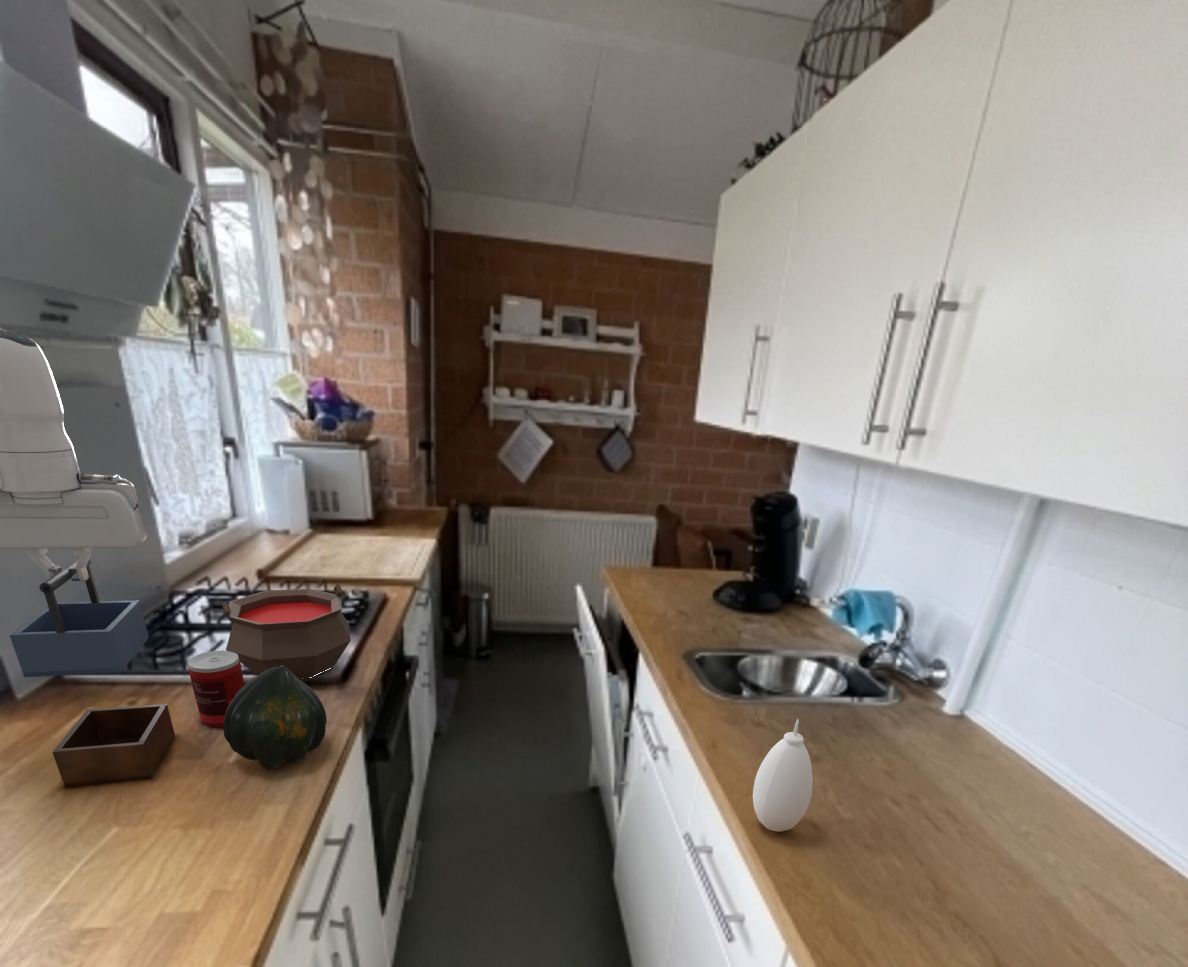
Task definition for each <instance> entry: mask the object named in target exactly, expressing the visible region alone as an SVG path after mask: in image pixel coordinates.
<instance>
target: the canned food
mask: <svg viewBox="0 0 1188 967" xmlns="http://www.w3.org/2000/svg"><path fill="white" fill-rule="evenodd" d="M187 669H188V674H189V678H190V682H191V686H192V690H193V694H194V699H195V703H196V706H197V712H198V715H199V719H200V721H201V722H202V723H203V724H204V725H205V726H207V727H211V728H212V727H213V728H224V718H225V714H226V710H227V708H228V706H229V704H230V703H231V701H232V700H233V698H234V697H235V695H236V694H237V692H238V691H239V690H240V689H241V688H242V687H243V686H245V685H246V684H245V680H244V675H243V670H242V663H241V662H240V660H239V657H238V655H237V654H236V653H234V652H230V651H226V650H211V651H206V652H201V653H199V654H197V655H196V654H195V655H194V656H192V657H191V658H189V660H188V661H187Z"/></svg>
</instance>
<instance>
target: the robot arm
mask: <svg viewBox="0 0 1188 967" xmlns="http://www.w3.org/2000/svg"><path fill="white" fill-rule="evenodd" d="M62 403H63V402H62V399H61V396H60V392H59V389H58V387H57V383H56V380H55V377H54V374H53V371H52V369H51V367H50V364H49V361H48V360H47V357H46V356H45V353H44V351H43V350H42V349H41V347H40V346H39V344H38V343H37V342H36V341H35V340H33V339H32V338H31V337H29V336H27V335H26V334H23V333H21V332H18V331H15V330H11V329H9V328H4V327H0V549H5V550H6V549H8V550H9V549H10V550H11V549H15V550H16V549H26V552H27V556H28V558H29V559H30V560H32V561H33V562H34V563H35V565H37V566H38V567H39V568H40V569H41V570H43V573H44V576H45V579H46V580H48V579H49V578H51V577H52V576H54V575H55V574H56V573H58V572H59V571H61V570H62V569H64V568H63V566H62V565H55V564H54V563H53V562H52V561H51V560H50V558H49V557H48V556H46V554H47V553H48V552H49V551H48V549H71V550H72V553H73V556H74V557H78V558H77V559H78V562H77V565H73V566H72V567H71V568H69V569H68V570H69V574H70V575H71V579H70V580H71V581H72V582H85V581H86V580H87V579H88V578H89V575H88V571H87V567H86V565H87V564H88V561H89V559H90V560H91V557H92V554H93V550H92V549H137V548H139V547H140V546H141V545H143V544H144V542H145V541H146V540H147V539H148V538H147V537H148V533H147V530H146V527H145V523H144V520H143V517H142V515H141V512H140V511H139V510H140V509H139V508H138V506H139V503H140V502H139V496H138V493H137V489H136V487H135V485H134V484H133V483H132V482H130V481H129V480H127V479H125V478H122V477H121V476H120V475H118V474H106V475H104V474H103V475H102V474H101V475H100V474H94V473H92V474H91V473H81V470H80V467H79V462H78V459H77V455H76V451H75V448H74V445H73V442H72V441H71V439H70V437H69V436H68V434H67V432H66V429H65V424H64V418H65V417H64V415H65V412H64V406H63V404H62Z"/></svg>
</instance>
